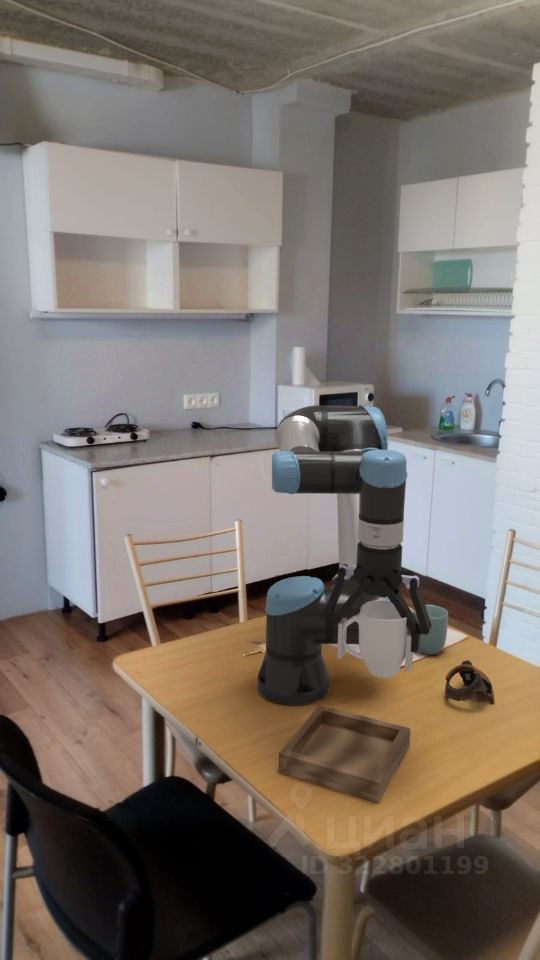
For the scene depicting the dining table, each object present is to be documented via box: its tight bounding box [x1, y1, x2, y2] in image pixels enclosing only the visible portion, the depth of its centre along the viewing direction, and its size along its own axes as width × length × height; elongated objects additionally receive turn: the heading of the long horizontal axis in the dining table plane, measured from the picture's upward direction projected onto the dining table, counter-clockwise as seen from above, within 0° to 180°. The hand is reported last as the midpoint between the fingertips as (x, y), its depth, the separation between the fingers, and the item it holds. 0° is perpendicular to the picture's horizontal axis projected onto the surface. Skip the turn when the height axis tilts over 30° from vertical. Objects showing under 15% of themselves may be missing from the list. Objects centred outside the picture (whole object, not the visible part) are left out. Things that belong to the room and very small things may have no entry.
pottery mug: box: [444, 659, 495, 704], centre depth 156 cm, size 12×10×8 cm
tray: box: [277, 704, 411, 804], centre depth 135 cm, size 18×18×4 cm
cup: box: [412, 604, 449, 656], centre depth 176 cm, size 8×8×10 cm
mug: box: [343, 600, 413, 679], centre depth 132 cm, size 12×9×12 cm
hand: (374, 661), depth 133 cm, fingers closed on mug, 11 cm apart
